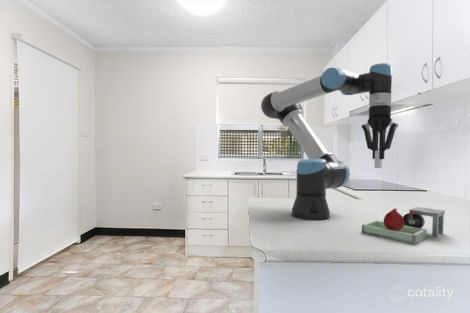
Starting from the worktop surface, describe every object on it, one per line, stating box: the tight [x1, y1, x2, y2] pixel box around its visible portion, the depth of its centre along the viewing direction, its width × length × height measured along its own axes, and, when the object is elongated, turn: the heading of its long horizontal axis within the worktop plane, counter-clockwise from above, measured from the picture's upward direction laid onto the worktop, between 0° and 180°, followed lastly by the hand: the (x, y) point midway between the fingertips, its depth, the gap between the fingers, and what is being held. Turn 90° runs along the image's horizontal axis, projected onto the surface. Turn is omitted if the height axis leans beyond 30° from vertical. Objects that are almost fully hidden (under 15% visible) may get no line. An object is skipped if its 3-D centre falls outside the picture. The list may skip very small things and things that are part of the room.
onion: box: [383, 208, 404, 231], centre depth 94 cm, size 6×6×8 cm
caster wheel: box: [402, 206, 446, 238], centre depth 99 cm, size 11×8×8 cm
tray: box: [361, 220, 428, 245], centre depth 94 cm, size 16×11×2 cm
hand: (378, 167), depth 112 cm, fingers closed
